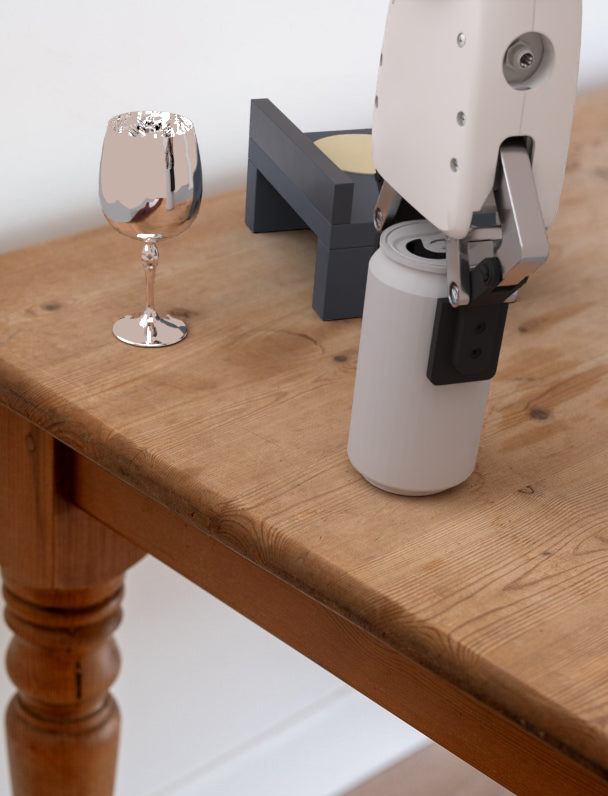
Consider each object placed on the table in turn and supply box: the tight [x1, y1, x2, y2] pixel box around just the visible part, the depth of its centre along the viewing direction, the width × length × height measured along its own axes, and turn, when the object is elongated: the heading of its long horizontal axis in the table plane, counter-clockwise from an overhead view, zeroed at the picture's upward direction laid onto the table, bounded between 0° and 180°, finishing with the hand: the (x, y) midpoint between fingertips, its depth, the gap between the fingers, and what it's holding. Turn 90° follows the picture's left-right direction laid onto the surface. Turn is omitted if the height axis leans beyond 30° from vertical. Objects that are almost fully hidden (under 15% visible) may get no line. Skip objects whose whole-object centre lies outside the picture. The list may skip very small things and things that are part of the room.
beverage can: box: [347, 219, 493, 497], centre depth 62 cm, size 6×6×12 cm
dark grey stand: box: [244, 97, 520, 321], centre depth 84 cm, size 13×16×8 cm
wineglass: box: [97, 110, 204, 348], centre depth 73 cm, size 6×6×12 cm
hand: (428, 341), depth 61 cm, fingers closed on beverage can, 6 cm apart
